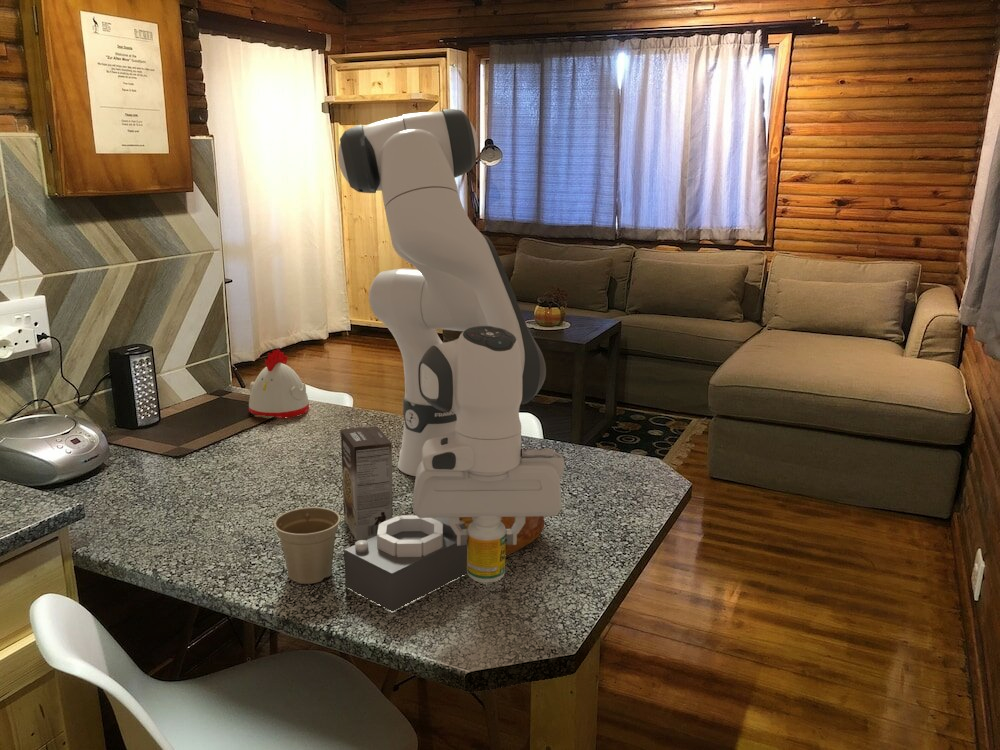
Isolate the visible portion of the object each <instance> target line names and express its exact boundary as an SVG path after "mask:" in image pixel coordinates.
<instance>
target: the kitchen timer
mask: <svg viewBox="0 0 1000 750" xmlns="http://www.w3.org/2000/svg"><path fill="white" fill-rule="evenodd" d="M287 361H288V356H287V355H285V353H284V352H281V349H279V348H278V349H275V350H272V351H271V352H268V353H267V359H264V363H265V367H264V368H263V369H262V370H261V371H260V372H259V374H258V375H257V377H256V378H255V381H251V382H250V384H249V393H250V395H249V400H248V412H249V411H250V412H251V413H253V414H256V415H265V416H274V417H279V418H285V417H293V416H297V415H300V414H303V413H305V414H306V413H308V412H309V409H310V404H309V403H310V402H309V397H308V393H307V388H306V386H307V385H306V383H305V382H304V383H303V382H302V380H301V378H300V377H299V375H298V374H297V372H296V371H295V370H294V369H293V368H292V367H290V366H289V365H287ZM307 411H308V412H307ZM303 415H304V414H303ZM300 416H301V415H300ZM297 417H298V416H297ZM293 418H294V417H293Z"/></svg>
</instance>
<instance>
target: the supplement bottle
mask: <svg viewBox="0 0 1000 750" xmlns="http://www.w3.org/2000/svg"><path fill="white" fill-rule="evenodd" d="M472 520H473V522H472V523H470V525H469V526H468V529H467V533H468V539H467V541H468V545H467V576H468V577H469V578H470V579H472V580H474V581H475V582H478V583H494V582H497V581H499V580H501V579H502V578H503V577H504V576H505V573H506V556H505V552H506V528H505V526H504V524H503V523H502V522H501V520H502V517H496V516H480V517H472Z"/></svg>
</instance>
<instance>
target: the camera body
mask: <svg viewBox="0 0 1000 750" xmlns="http://www.w3.org/2000/svg"><path fill="white" fill-rule="evenodd" d="M459 526H460V527H461V529H465V522H463V521H460V520H459ZM343 552H344V553H343V554H344V555H343V556H344V583H345V585H344V586H345V587H347V588H350V589H352V590H353V591H355V592H357V593H358V594H361V595H362V596H364V597H366V598H368V599H370V600H372V601H374V602H376V603H377V604H380V605H381V606H383V607H385V608H387V609H389V610H391V611H394V610H396V609H398V608H400V607H401V606H404V605H405V604H407V603H410V602H411V601H413V600H415V599H417V598H419V597H421V596H424V595H425V594H428V593H429V592H431V591H433V590H435V589H437V588H438V587H441V586H443V585H445V584H446V583H448V582H450V581H452V580H454V579H457V578H458V577H461V576H462V575H465V574H467V545H466V546H457V535H456V534H455V532H454V531H453V529H452V528H451V526H450V525H449V517H445V518H419V517H417V516H416V514H413V515H412V514H409V515H408V514H407V515H406V514H405V515H402V514H401V515H399V516H398V515H397V516H394V517H392V518H391V519H389V520H387V521H384V522H382V523H380V524H379V527H378V532H377V536H375V537H372V538H370V539H365V540H358V541H355V542H354V545H352V546H349V547H347V548H344V549H343ZM467 575H468V574H467ZM465 576H466V575H465Z"/></svg>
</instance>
